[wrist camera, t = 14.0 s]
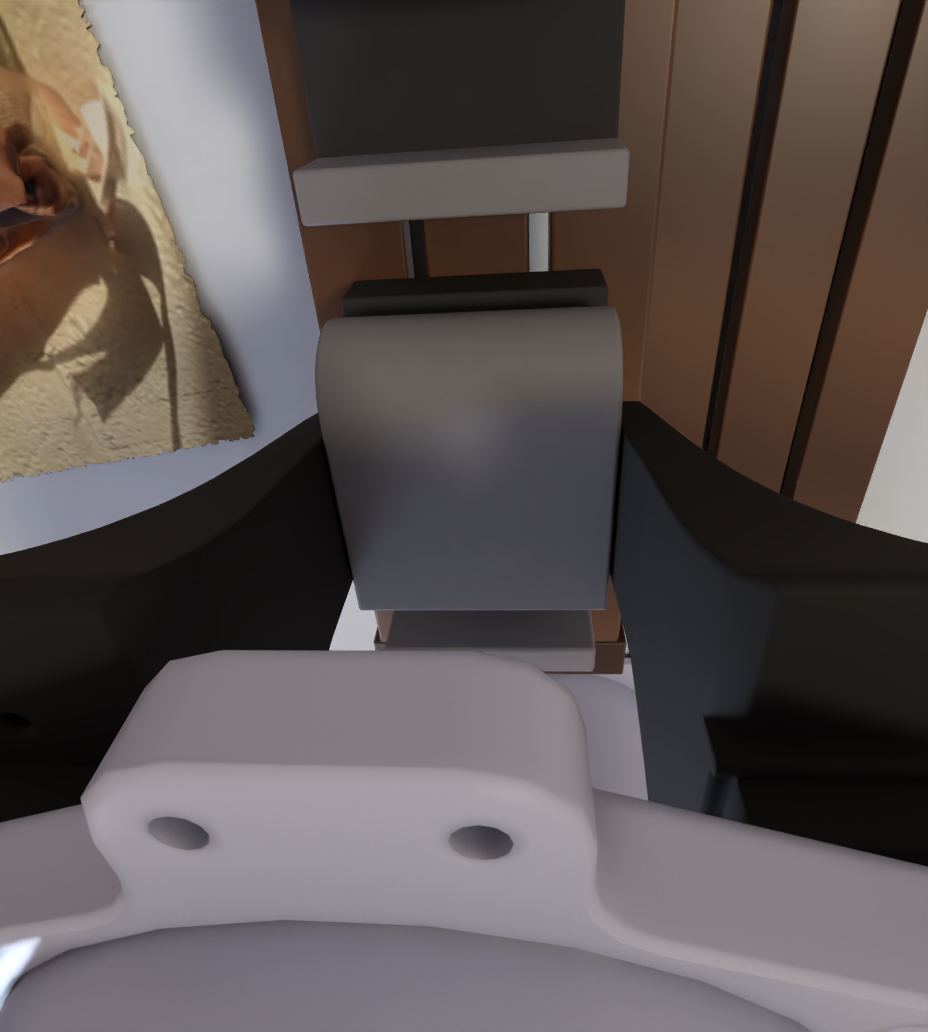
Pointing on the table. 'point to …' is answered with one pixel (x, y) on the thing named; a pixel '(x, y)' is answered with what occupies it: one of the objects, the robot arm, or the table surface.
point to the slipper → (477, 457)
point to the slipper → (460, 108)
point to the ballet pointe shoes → (90, 270)
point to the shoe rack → (719, 235)
